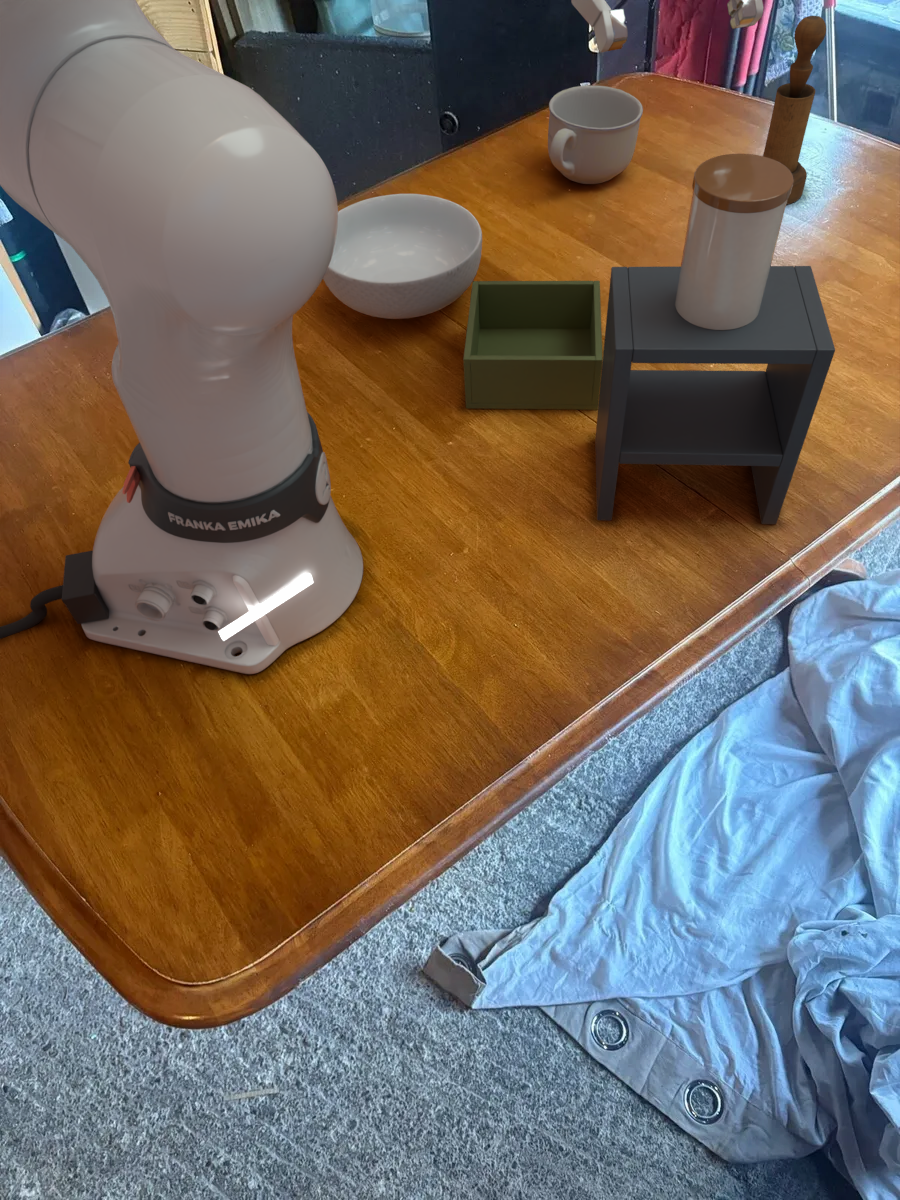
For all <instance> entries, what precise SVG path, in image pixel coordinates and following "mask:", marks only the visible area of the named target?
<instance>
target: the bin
mask: <svg viewBox="0 0 900 1200" xmlns="http://www.w3.org/2000/svg"><path fill="white" fill-rule="evenodd" d="M601 302H602V301H601V281H600V280H473V281H472V283H471V292H470V300H469V309H468V316H467V317H468V318H467V325H466V332H465V333H466V334H465V343H464V349H463V350H464V351H463V358H462V361H463V376H464V377H463V379H464V395H465V398H464V399H465V409H473V410H475V409H477V410H479V409H480V410H481V409H485V410H486V409H487V410H489V409H490V410H570V411H571V410H573V411H574V410H575V411H576V410H577V411H582V410H583V411H584V410H585V411H598V404H599V394H600V383H601V373H602V362H603V336H602V334H603V333H602V307H601V306H602V305H601Z"/></svg>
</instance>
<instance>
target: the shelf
mask: <svg viewBox="0 0 900 1200" xmlns="http://www.w3.org/2000/svg"><path fill="white" fill-rule="evenodd" d="M680 269H681V266H611V269H610V278H609V288H608V299H607V311H606V321H605V333H604V342H603V351H602V370H601V381H600V391H599V402H598V410H597V414H596V415H597V416H596V426H595V438H594V441H595V442H594V445H595V449H594V450H595V479H596V480H595V486H596V487H595V489H596V492H595V493H596V520H597V521H606V522H607V521H612V519H613V513H614V505H615V497H616V489H617V481H618V474H619V473H618V472H619V467H620V465H673V466H679V465H680V466H683V465H684V466H729V467H730V466H735V467H737V466H739V467H751V474H752V479H753V484H754V490H755V496H756V502H757V507H758V513H759V518H760V524H762V525H777V522H778V519H779V517H780V513H781V511H782V508H783V505H784V502H785V499H786V496H787V495H788V494H787V493H788V491H789V487H790V485H791V482H792V479H793V476H794V473H795V469H796V468H797V464H798V461H799V459H800V455H801V452H802V449H803V446H804V444H805V440H806V437H807V435H808V431H809V428H810V425H811V423H812V420H813V417H814V414H815V411H816V408H817V405H818V402H819V399H820V397H821V395H822V394H821V393H822V391H823V388H824V384H825V382H826V379H827V377H828V376H827V375H828V372H829V370H830V367H831V364H832V361H833V357H834V356H835V353H836V348H835V344H834V340H833V337H832V334H831V331H830V326H829V323H828V321H827V320H828V319H827V316H826V314H825V310H824V307H823V303H822V299H821V295H820V292H819V290H818V286H817V283H816V279H815V275H814V272H813V269H812V266H811V265H771V267H770V271H769V275H768V279H767V283H766V287H765V291H764V295H763V299H762V303H761V307H760V311H759V314H758V316H757V317H756V318H755V319H754V320H753V321H752V322H751V323H749V324H747V325H745V326H743V327H740V328H736V329H731V330H712V329H706V328H702V327H699V326H696V325H694V324H691V323H689V322H688V321H686V320H685V319H684V318H682V317H681V316H680V315H679V313H678V312H677V310H676V307H675V299H676V293H677V287H678V281H679V275H680ZM632 364H701V365H702V364H712V365H713V364H714V365H715V364H721V365H723V364H724V365H725V364H727V365H729V364H730V365H731V364H732V365H756V364H757V365H766V369H765V370H687V369H686V370H685V369H684V370H682V369H681V370H679V369H678V370H677V369H676V370H673V369H671V370H669V369H668V370H667V369H666V370H665V369H632Z"/></svg>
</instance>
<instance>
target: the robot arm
mask: <svg viewBox="0 0 900 1200" xmlns="http://www.w3.org/2000/svg"><path fill="white" fill-rule="evenodd" d="M570 1H571V2H570V3H571V5H572V6H573V7H574V8H575V10H577V11H578V13H579V14H580V15H581V16H582V18H583V19H584V20H585V22H586V23H587V24H588V25H589V26H590V27H591V28H593V31H594V36H595V41H596V47H597V51H598V52H599V53H605V52H611V51H617V50H622V48H623V47H624V44H626V43H627V41H628V37H629V36H628V35H629V34H628V33H629V32H628V26H627V25H626V24H625V21H626V15H625V10H624V8H619V9H618V8H617V9H612V8H611V6H609V4H608V3H607V1H606V0H570ZM726 6H727V12H728V15H729V17H730V20H729V24H730V27H731V28H732V30H734V29H741V28H748V27H753V26H756V24H757V23H758V22H759V21H760V20H761V18H762V17H763V15H764V2H763V0H729V1H728V2H727V4H726ZM0 187H1V188H2V189H3V191H4V192H5V193H6V194H7V195H8V196H9V197H10V198H11V199H12V200H13V201H14V202H15V203H16V204H17V205H19V206H20V207H21V208H22V209H23V210H25V211H26V212H28V213H29V214H30V215H32V216H33V217H34V218H35V219H36V220H38V222H40V223H41V224H42V225H44V226H45V227H46V228H48V229H49V230H50V231H52V232H53V233H54V234H56V236H58V237H59V238H61V240H63V241H64V242H65V243H66V244H68V245H69V246H70V247H71V248H72V249H73V251H75V253H76V254H77V255H78V257H79V258H80V259H81V260H82V262H83V263H84V264H85V266H86V267H87V268H88V270H89V271H90V273H92V275H93V277H94V278H95V279H96V281H97V283H98V284H99V287H100V288H101V290H102V292H103V294H104V295H105V298H106V300H107V302H108V305H109V308H110V310H111V313H112V318H113V320H114V325H115V331H116V337H117V345H116V347H115V350H114V351H113V356H112V360H111V368H110V370H111V377H112V382H113V385H114V387H115V390H116V393H117V394H118V397H119V398H120V401H121V403H122V406H123V408H124V410H125V412H126V414H127V417H128V419H129V421H130V424H131V426H132V428H133V430H134V432H135V434H136V437H137V440H138V443H137V444H136V445H135V446H134V448H133V450H132V452H131V454H130V457H129V459H128V465H129V470H128V473H127V475H126V477H125V480H124V482H123V486H122V487H121V488H120V489H119V491H118V492H117V493H116V494H115V496H114V497H113V498H112V500H111V501H110V504H109V505H108V507H107V509H106V511H105V513H104V514H103V516H102V519H101V521H100V524H99V526H98V529H97V532H96V535H95V538H94V543H93V547H92V550H88V551H82V552H76V553H72V554H66V555H65V558H64V570H63V581H62V584H61V585H58V586H54V587H51V588H47V589H45V590H43V591H40V592H39V593H38V594H36V595H35V596H33V597H32V599H31V600H30V605H29V607H30V609H31V612H30V613H28V614H27V615H25V616H24V617H22V618H20V619H18V620H15V621H14V622H11V623H8V624H5V625H1V626H0V640H2V639H3V638H6V637H9V636H12V635H15V634H18V633H20V632H23V631H27V630H29V629H31V628H33V627H35V626H37V625H38V624H39V623H41V622H42V621H43V620H44V619H45V618H46V617H47V616H48V615H47V614H48V607H47V606H46V605H48V604H49V603H52V602H54V601H55V602H56V601H59V600H61V601H62V602H63V604H64V605H65V608H67V610H68V612H69V614H70V615H71V617H72V618H73V620H74V621H75V623H76V624H77V625H81V628H82V630H83V632H84V634H85V637H86V638H87V639H89V640H92V641H95V642H99V643H103V644H107V645H112V646H117V647H121V648H125V649H129V650H136V651H140V652H143V653H148V654H153V655H157V656H162V657H166V658H167V657H168V658H171V659H176V660H181V661H185V662H189V663H195V664H198V665H203V666H209V667H212V668H217V669H221V670H225V671H230V672H235V673H239V674H245V675H254V674H258V673H261V672H262V671H264V670H265V669H266V668H268V667H269V666H271V664H272V663H274V662H275V661H277V659H278V658H279V657H280V656H281V655H282V654H283V653H284V652H285V651H287V650H288V649H289V648H291V647H293V646H294V645H296V644H299V643H301V642H303V641H305V640H307V639H310V638H311V637H314V636H315V635H317V634H319V633H321V632H323V631H324V630H325V629H327V628H328V627H329V626H331V625H332V624H333V623H335V622H336V621H337V620H338V619H339V618H340V617H342V615H343V614H344V613H345V612H346V611H347V609H348V608H349V607H350V606H351V604H352V603H353V602H354V600H355V598H356V596H357V594H358V592H359V589H360V587H361V583H362V580H363V576H364V560H363V555H362V551H361V548H360V546H359V545H358V542H357V541H356V539H355V537H354V536H353V535H352V533H351V532H350V531H349V529H348V528H347V526H346V525H345V523H344V522H343V521H344V520H342V518H341V516H340V514H339V512H338V509H337V507H336V505H335V502H334V500H333V497H332V495H331V493H332V485H331V474H330V469H329V464H328V460H327V454H326V452H325V451H324V449H323V445H322V442H321V438H320V435H319V431H318V428H317V425H316V422H315V421H314V418H313V417H312V416H311V414H310V413H309V411H308V410H307V409H308V408H307V405H306V400H305V396H304V392H303V391H304V390H303V387H302V383H301V378H300V373H299V369H298V364H297V363H298V362H297V360H296V354H295V349H294V339H293V320H294V319H293V317H294V315H295V314H296V313H298V311H299V310H301V309H302V308H303V306H305V304H306V303H308V302H309V300H310V299H311V298H312V296H313V295H314V293H315V292H316V291H317V290H318V288H319V286H320V285H321V283H322V281H323V277H324V275H325V273H326V271H327V269H328V266H329V264H330V261H331V258H332V255H333V252H334V248H335V244H336V238H337V230H338V211H339V206H338V199H337V193H336V188H335V185H334V182H333V179H332V176H331V174H330V171H329V170H328V168H327V166H326V164H325V162H324V160H323V159H322V158H321V156H320V155H319V153H318V152H317V151H316V150H315V149H314V147H313V146H312V145H311V144H310V143H309V142H308V141H307V140H306V139H305V138H304V137H303V135H301V134H300V133H299V131H298V130H296V128H295V127H294V126H293V125H292V124H291V123H290V122H289V121H288V120H287V119H286V118H285V117H284V116H282V114H281V113H279V111H277V110H276V109H275V108H274V107H273V106H272V105H271V104H269V102H268V101H266V100H265V99H264V97H262V96H261V95H260V94H259V93H258V92H256V91H255V90H253V89H252V88H250V87H249V86H247V85H245V84H244V83H241V82H239V81H237V80H235V79H233V78H232V77H229V76H227V75H226V74H223V73H221V72H219V71H218V70H216V69H214V68H211V67H210V66H207V65H205V64H204V63H201V62H199V61H197V60H195V59H194V58H191V57H189V56H187V55H186V54H183V53H182V52H180V51H179V50H177V49H175V48H174V47H173V46H172V45H171V44H170V43H169V42H168V41H167V39H165V38H164V36H162V34H160V33H159V31H158V30H157V29H156V28H155V27H154V25H153V24H152V23H151V22H150V20H149V19H148V17H147V16H146V14H145V13H144V12H143V10H142V8H141V6H140V5H139V4H138V2H137V0H0ZM239 653H241V654H239ZM237 654H239V655H237ZM236 655H237V656H236Z"/></svg>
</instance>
